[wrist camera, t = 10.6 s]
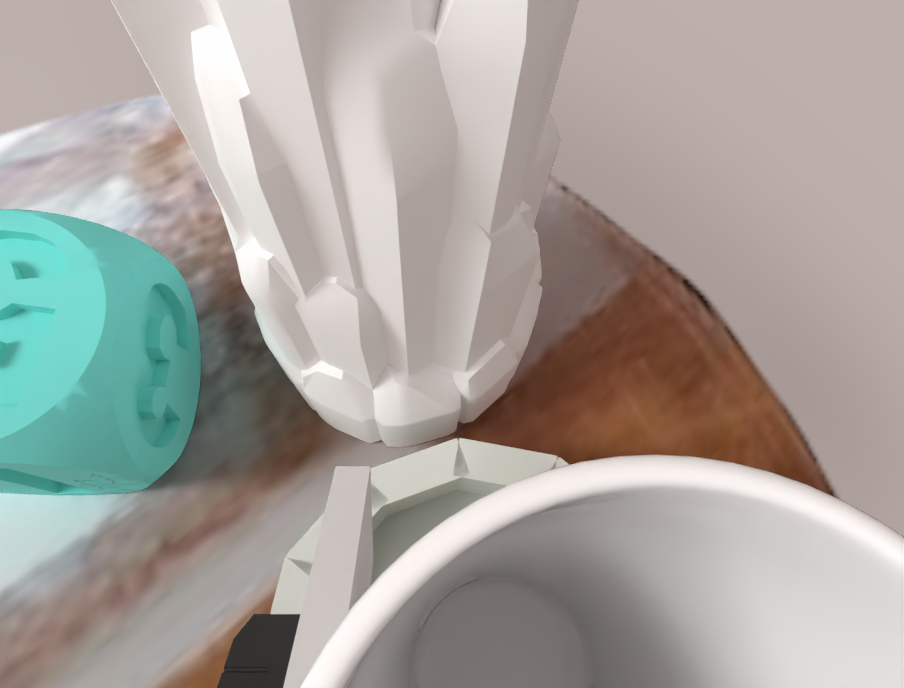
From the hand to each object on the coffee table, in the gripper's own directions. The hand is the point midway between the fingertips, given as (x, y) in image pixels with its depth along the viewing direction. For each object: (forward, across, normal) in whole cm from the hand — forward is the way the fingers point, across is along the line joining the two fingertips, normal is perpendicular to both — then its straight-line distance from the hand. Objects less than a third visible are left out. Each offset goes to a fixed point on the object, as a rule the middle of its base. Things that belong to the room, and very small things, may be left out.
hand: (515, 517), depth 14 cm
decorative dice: (+12, -15, -4) cm, 20 cm away
